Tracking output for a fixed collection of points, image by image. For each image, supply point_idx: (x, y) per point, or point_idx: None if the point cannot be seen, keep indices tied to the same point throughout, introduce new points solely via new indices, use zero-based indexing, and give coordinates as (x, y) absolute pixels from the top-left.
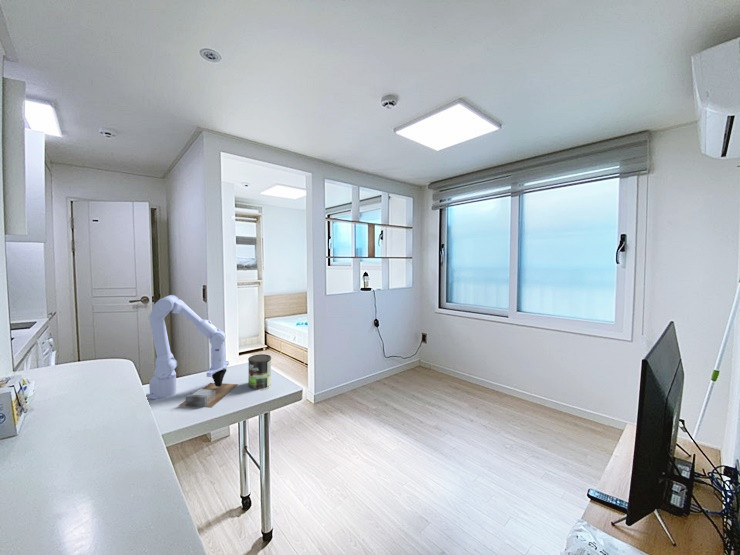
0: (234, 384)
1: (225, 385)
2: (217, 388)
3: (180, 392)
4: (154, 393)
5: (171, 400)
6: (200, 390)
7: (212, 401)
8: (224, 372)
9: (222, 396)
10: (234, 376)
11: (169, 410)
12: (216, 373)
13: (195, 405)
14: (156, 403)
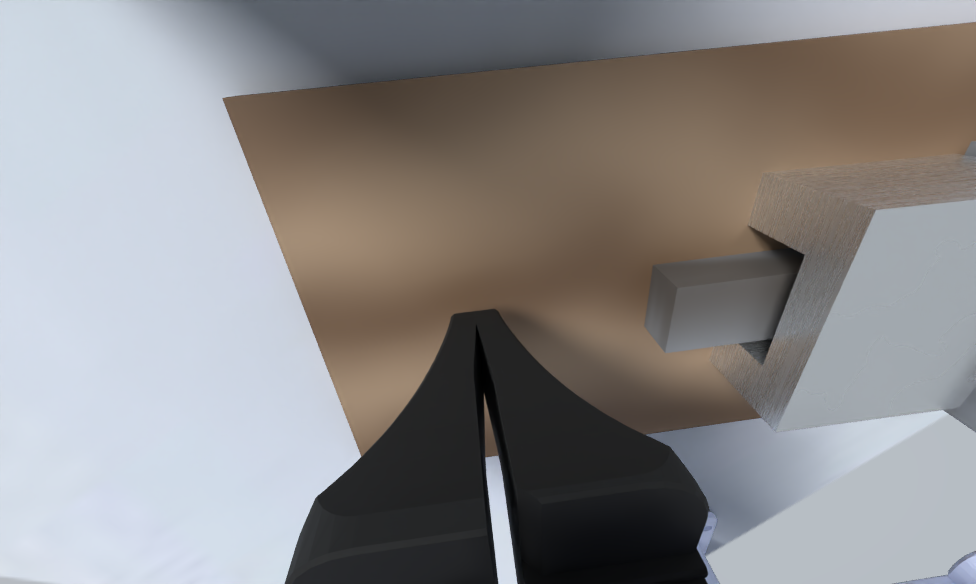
0: (268, 176)
1: (366, 288)
2: None
3: None
4: None
5: (715, 493)
6: (826, 401)
7: (881, 134)
8: (443, 479)
9: (734, 84)
10: (17, 375)
11: None
12: (702, 576)
13: None
14: (750, 527)
